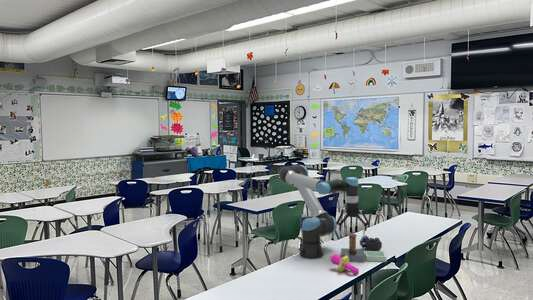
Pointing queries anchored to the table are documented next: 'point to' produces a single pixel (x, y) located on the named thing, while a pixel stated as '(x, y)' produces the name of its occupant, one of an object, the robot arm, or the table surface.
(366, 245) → the toy
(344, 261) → the toy
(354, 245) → the pin
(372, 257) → the tray
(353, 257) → the hitch block
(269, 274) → the table surface
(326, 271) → the table surface
